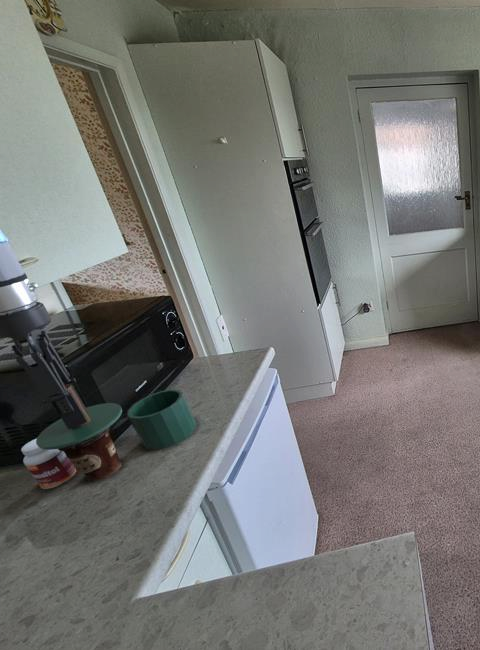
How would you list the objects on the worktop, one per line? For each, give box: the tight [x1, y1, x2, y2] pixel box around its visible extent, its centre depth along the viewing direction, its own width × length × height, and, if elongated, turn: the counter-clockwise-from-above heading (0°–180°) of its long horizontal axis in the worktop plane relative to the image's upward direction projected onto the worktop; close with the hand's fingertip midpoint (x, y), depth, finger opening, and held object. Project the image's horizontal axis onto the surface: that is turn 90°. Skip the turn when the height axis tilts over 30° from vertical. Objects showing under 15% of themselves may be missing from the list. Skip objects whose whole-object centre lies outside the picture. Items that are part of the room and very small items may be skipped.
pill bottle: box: [20, 438, 77, 490], centre depth 87 cm, size 6×6×11 cm
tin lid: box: [36, 384, 123, 450], centre depth 72 cm, size 12×12×9 cm
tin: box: [127, 389, 197, 451], centre depth 98 cm, size 11×11×10 cm
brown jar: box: [58, 427, 122, 483], centre depth 87 cm, size 9×8×13 cm
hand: (78, 419), depth 73 cm, fingers closed on tin lid, 3 cm apart
